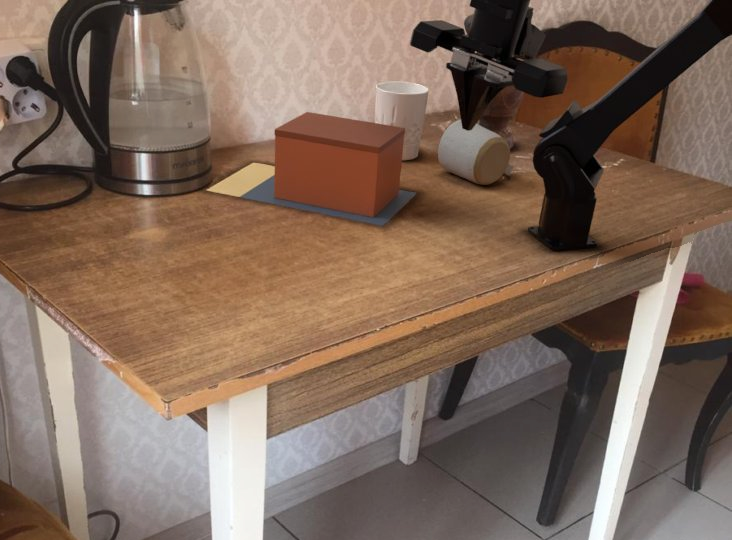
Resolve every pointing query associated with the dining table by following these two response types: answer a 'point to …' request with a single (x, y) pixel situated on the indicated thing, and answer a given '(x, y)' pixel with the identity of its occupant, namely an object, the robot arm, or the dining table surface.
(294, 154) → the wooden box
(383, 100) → the white cup
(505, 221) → the dining table surface
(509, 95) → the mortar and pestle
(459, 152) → the ceramic mug
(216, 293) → the dining table surface
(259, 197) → the mat
